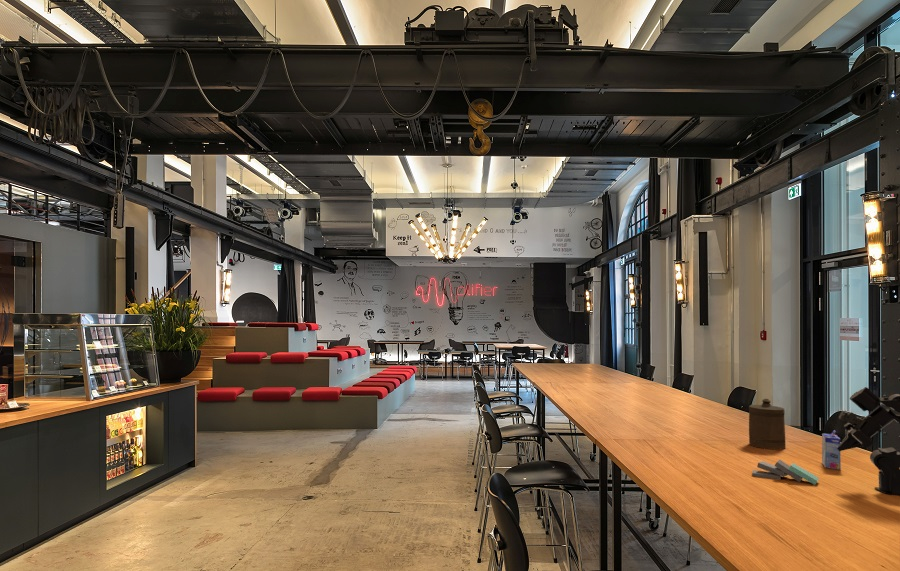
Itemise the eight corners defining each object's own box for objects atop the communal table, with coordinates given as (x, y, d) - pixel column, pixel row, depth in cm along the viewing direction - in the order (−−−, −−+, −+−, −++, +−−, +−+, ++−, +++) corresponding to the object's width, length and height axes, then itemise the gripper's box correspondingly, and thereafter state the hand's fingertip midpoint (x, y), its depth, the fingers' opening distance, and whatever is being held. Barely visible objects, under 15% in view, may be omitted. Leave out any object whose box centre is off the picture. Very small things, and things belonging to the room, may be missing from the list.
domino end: (779, 473, 205) (752, 470, 210) (780, 476, 201) (752, 473, 206) (780, 478, 205) (752, 474, 210) (780, 481, 201) (752, 477, 205)
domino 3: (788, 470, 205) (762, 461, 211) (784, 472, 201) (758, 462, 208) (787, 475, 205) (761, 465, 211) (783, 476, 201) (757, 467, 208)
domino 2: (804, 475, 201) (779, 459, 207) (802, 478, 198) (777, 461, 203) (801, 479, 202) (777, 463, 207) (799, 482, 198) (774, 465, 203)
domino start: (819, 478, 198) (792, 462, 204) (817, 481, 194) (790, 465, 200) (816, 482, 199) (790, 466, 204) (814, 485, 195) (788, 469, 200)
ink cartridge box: (842, 470, 216) (840, 432, 217) (825, 468, 218) (823, 431, 219) (838, 464, 224) (836, 428, 225) (821, 462, 227) (820, 427, 228)
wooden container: (785, 445, 259) (784, 398, 261) (785, 451, 247) (784, 402, 248) (750, 441, 267) (749, 395, 269) (748, 447, 255) (747, 399, 256)
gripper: (850, 400, 202) (815, 427, 206) (859, 407, 186) (821, 436, 190) (877, 424, 198) (841, 451, 202) (890, 433, 181) (850, 462, 186)
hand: (838, 449), depth 195 cm, fingers closed
